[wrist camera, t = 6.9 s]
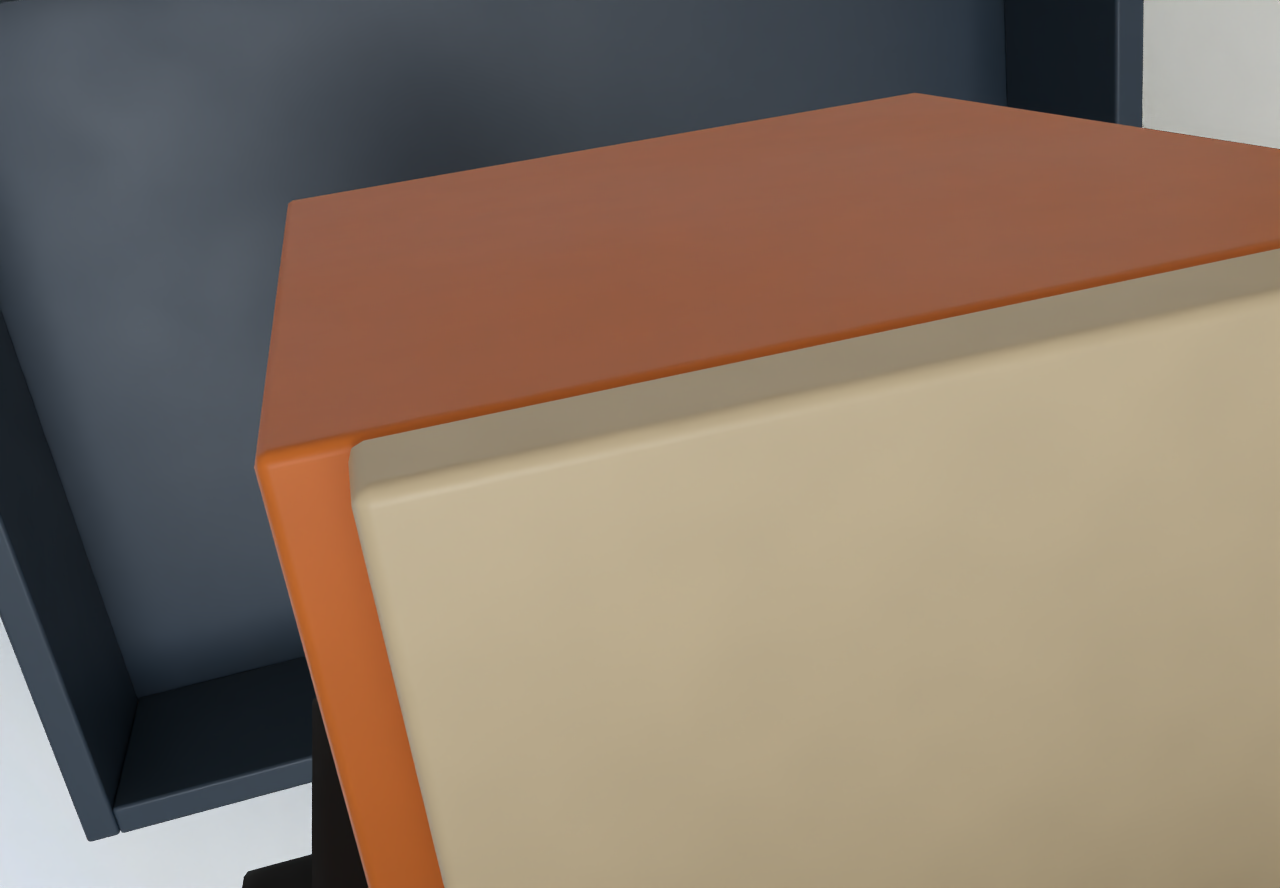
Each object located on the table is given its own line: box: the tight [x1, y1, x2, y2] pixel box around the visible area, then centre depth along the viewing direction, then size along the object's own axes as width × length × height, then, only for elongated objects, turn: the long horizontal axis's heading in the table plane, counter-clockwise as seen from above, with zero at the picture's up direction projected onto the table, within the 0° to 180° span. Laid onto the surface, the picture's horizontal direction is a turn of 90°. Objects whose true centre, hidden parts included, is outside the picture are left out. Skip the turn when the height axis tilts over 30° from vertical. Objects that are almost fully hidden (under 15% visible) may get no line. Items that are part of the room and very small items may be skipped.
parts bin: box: [0, 0, 1144, 841], centre depth 24 cm, size 22×15×4 cm
